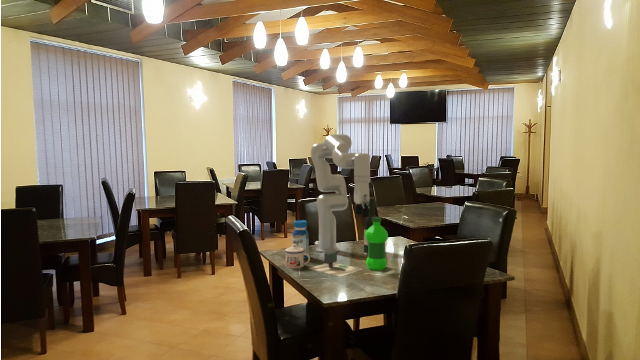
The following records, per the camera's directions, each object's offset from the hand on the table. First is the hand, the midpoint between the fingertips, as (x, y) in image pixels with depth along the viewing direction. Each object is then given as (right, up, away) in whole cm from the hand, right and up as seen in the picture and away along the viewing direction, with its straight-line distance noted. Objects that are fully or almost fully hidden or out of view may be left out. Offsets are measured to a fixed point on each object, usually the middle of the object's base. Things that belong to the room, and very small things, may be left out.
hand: (362, 215), depth 219 cm
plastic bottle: (+6, -26, -4) cm, 27 cm away
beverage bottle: (-30, -24, +18) cm, 43 cm away
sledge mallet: (-12, -25, -5) cm, 28 cm away
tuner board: (-13, -26, -4) cm, 29 cm away
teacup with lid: (-31, -26, +1) cm, 40 cm away
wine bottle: (+8, -23, +35) cm, 42 cm away
